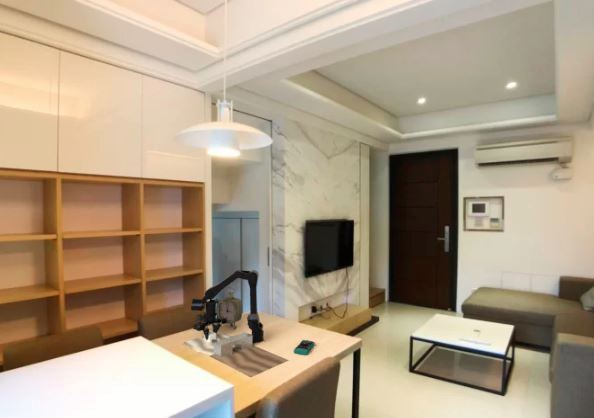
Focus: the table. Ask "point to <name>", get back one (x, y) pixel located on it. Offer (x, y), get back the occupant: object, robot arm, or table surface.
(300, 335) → the table surface
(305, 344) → the digital multimeter
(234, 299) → the tabletop clock
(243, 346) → the motor housing
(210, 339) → the plug
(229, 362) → the base board
